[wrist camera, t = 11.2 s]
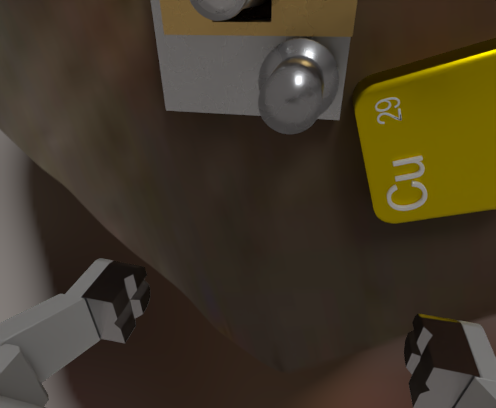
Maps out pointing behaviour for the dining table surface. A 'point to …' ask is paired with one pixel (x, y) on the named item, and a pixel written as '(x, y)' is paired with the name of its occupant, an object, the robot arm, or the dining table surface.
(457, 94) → the element tile
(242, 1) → the steel pin
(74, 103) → the dining table surface
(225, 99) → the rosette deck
